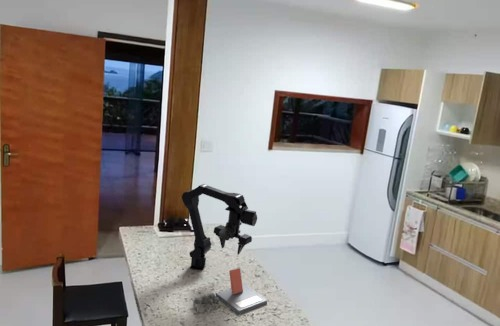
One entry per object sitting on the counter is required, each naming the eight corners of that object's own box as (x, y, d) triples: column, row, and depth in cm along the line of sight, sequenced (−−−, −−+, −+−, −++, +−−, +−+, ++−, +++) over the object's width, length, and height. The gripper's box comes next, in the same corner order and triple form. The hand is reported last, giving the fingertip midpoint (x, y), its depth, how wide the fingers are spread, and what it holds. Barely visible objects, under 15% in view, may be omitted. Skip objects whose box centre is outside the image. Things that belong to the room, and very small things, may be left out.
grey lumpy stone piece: (198, 314, 160) (198, 305, 159) (190, 305, 166) (191, 296, 165) (221, 309, 166) (222, 300, 165) (213, 299, 172) (214, 291, 171)
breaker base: (215, 296, 175) (216, 292, 174) (243, 286, 185) (243, 283, 185) (238, 314, 163) (239, 310, 163) (266, 303, 174) (267, 299, 173)
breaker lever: (231, 294, 174) (228, 270, 175) (241, 291, 178) (238, 267, 179) (233, 295, 173) (230, 271, 174) (243, 291, 177) (241, 268, 178)
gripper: (208, 218, 185) (204, 249, 189) (241, 230, 176) (237, 263, 179) (222, 213, 195) (218, 243, 198) (254, 224, 185) (250, 255, 189)
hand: (230, 251), depth 191 cm, fingers open, 9 cm apart
